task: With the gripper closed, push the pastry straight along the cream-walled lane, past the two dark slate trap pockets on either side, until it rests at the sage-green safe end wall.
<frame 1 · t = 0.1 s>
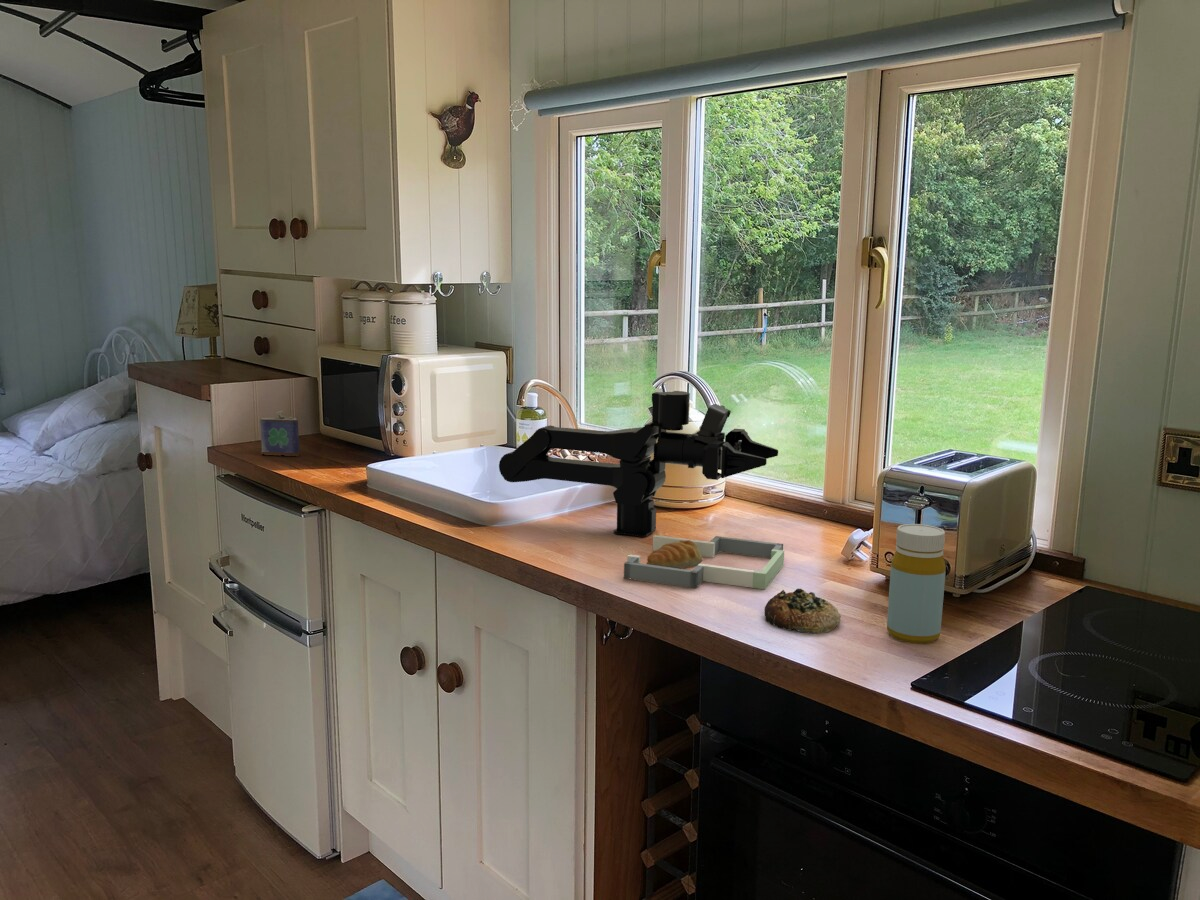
hand: (772, 457, 173), 17 cm above the worktop, fingers open, 9 cm apart
bottle: (912, 637, 135), on the worktop
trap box: (703, 567, 165), on the worktop
bread roll: (803, 623, 141), on the worktop
flask: (281, 456, 254), on the worktop
pastry: (675, 566, 167), on the worktop
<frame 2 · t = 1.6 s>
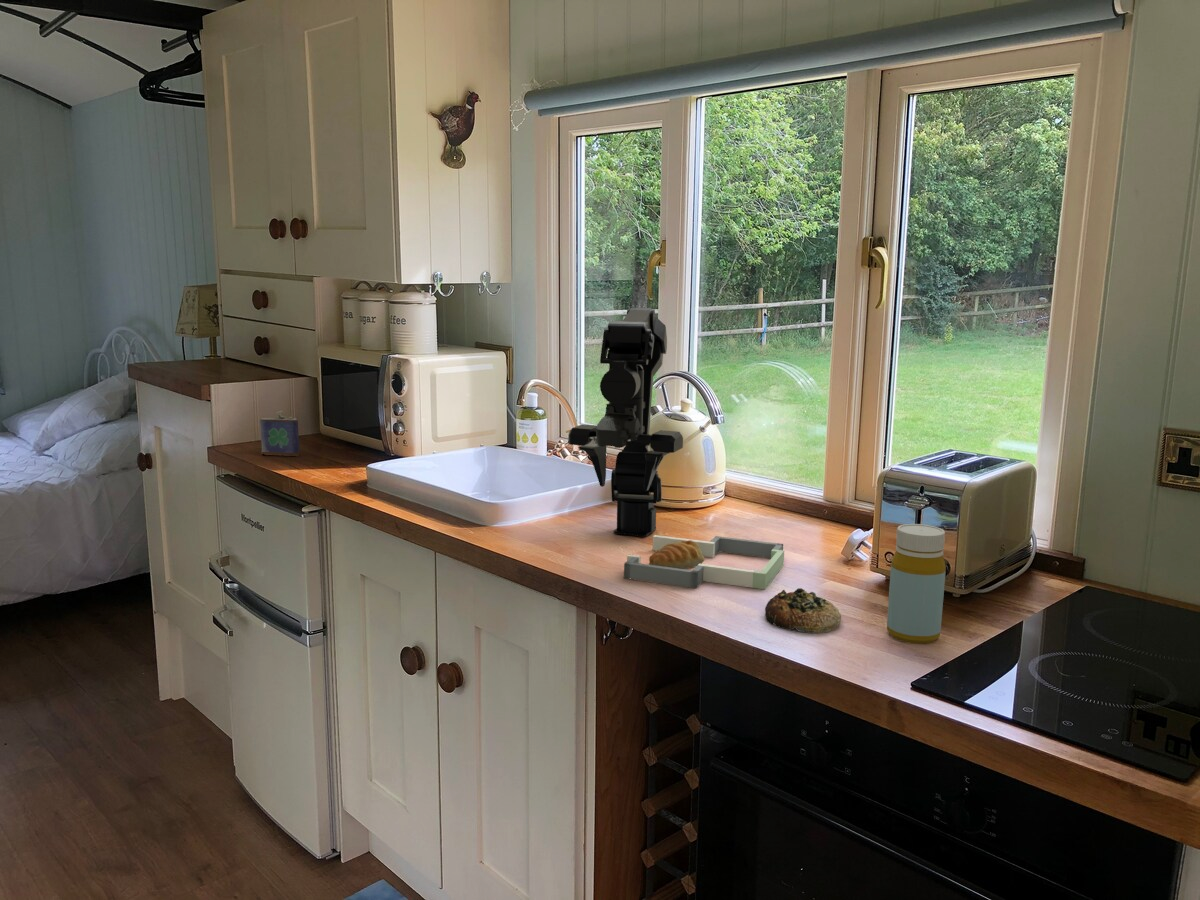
hand: (624, 488, 168), 12 cm above the worktop, fingers open, 8 cm apart
nothing on the worktop moved.
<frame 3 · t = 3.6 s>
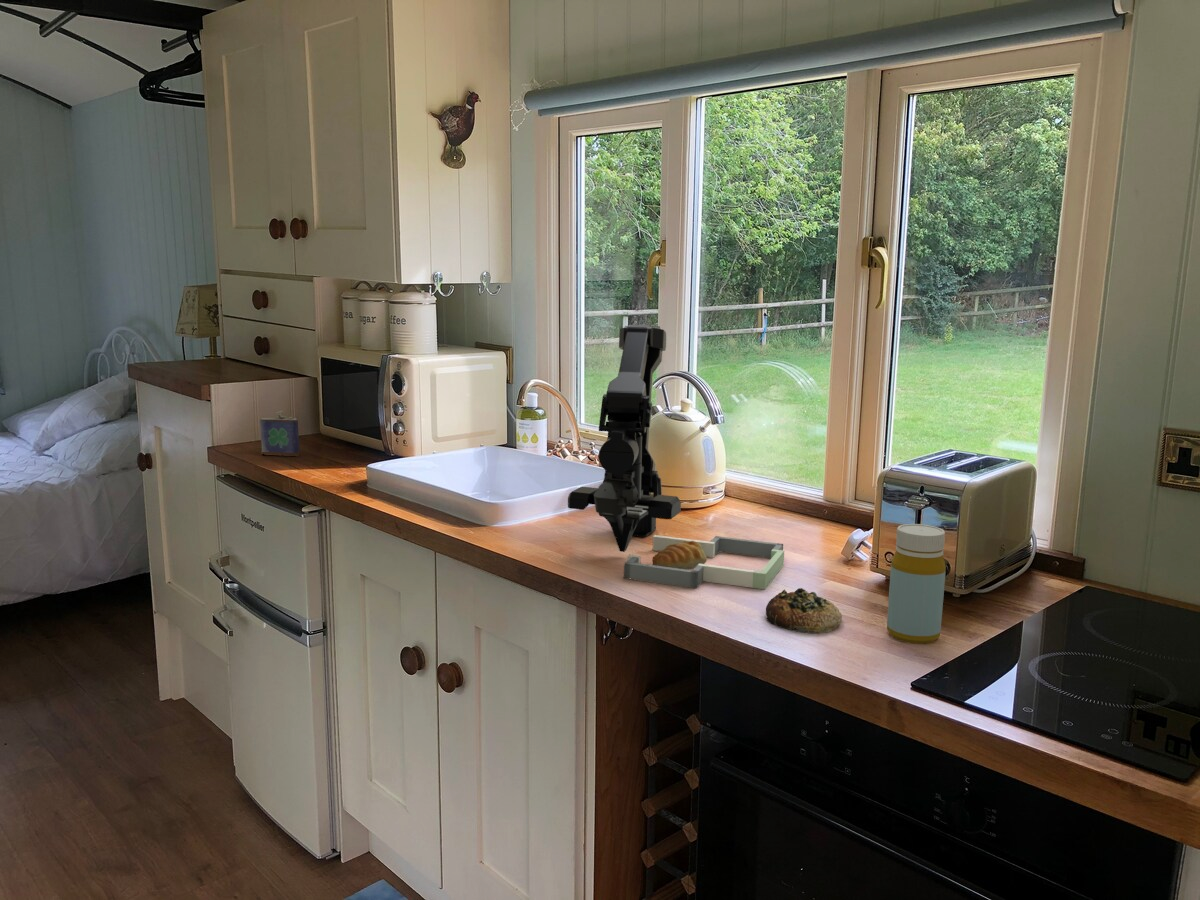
hand: (623, 551, 170), 1 cm above the worktop, fingers closed
nothing on the worktop moved.
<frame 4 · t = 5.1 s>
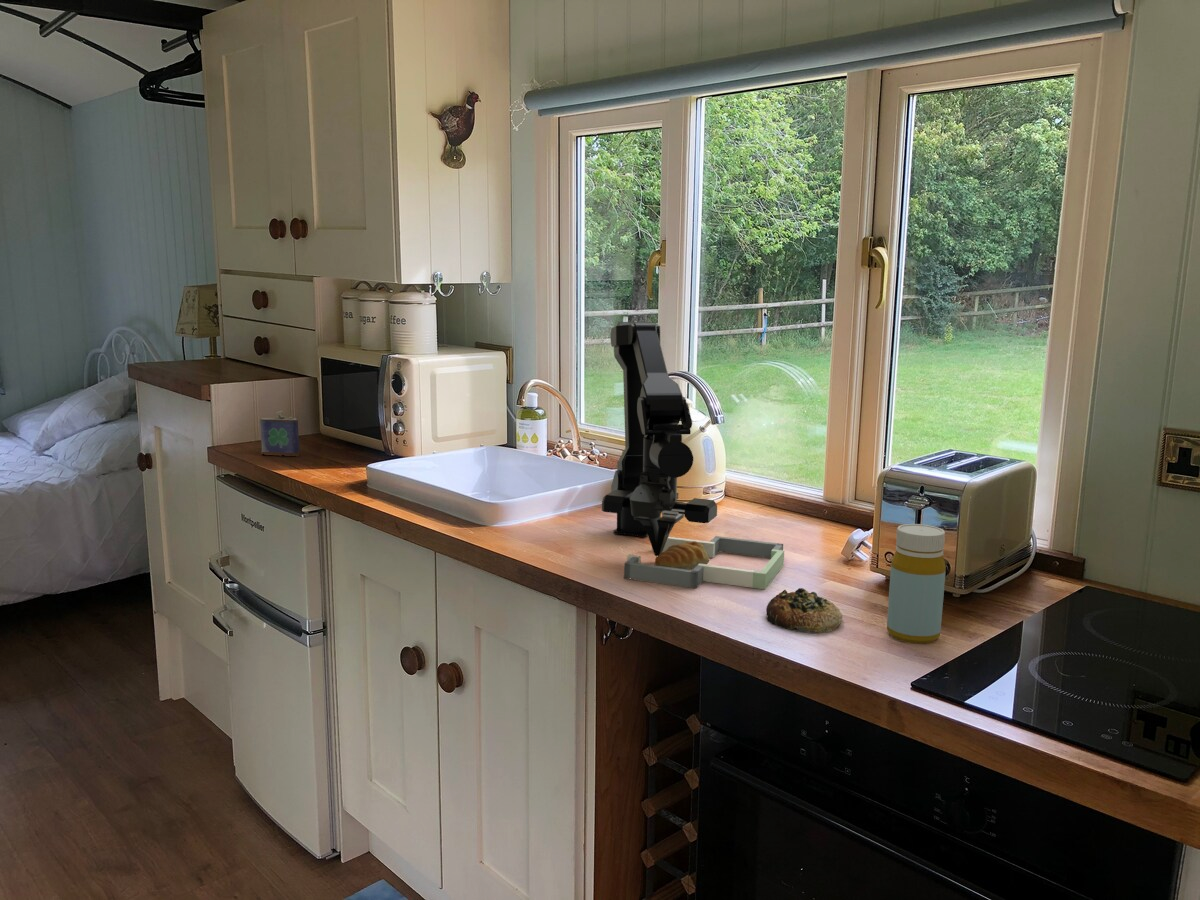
hand: (657, 555, 167), 1 cm above the worktop, fingers closed
pastry: (682, 567, 166), on the worktop, touching gripper
everything else where it was.
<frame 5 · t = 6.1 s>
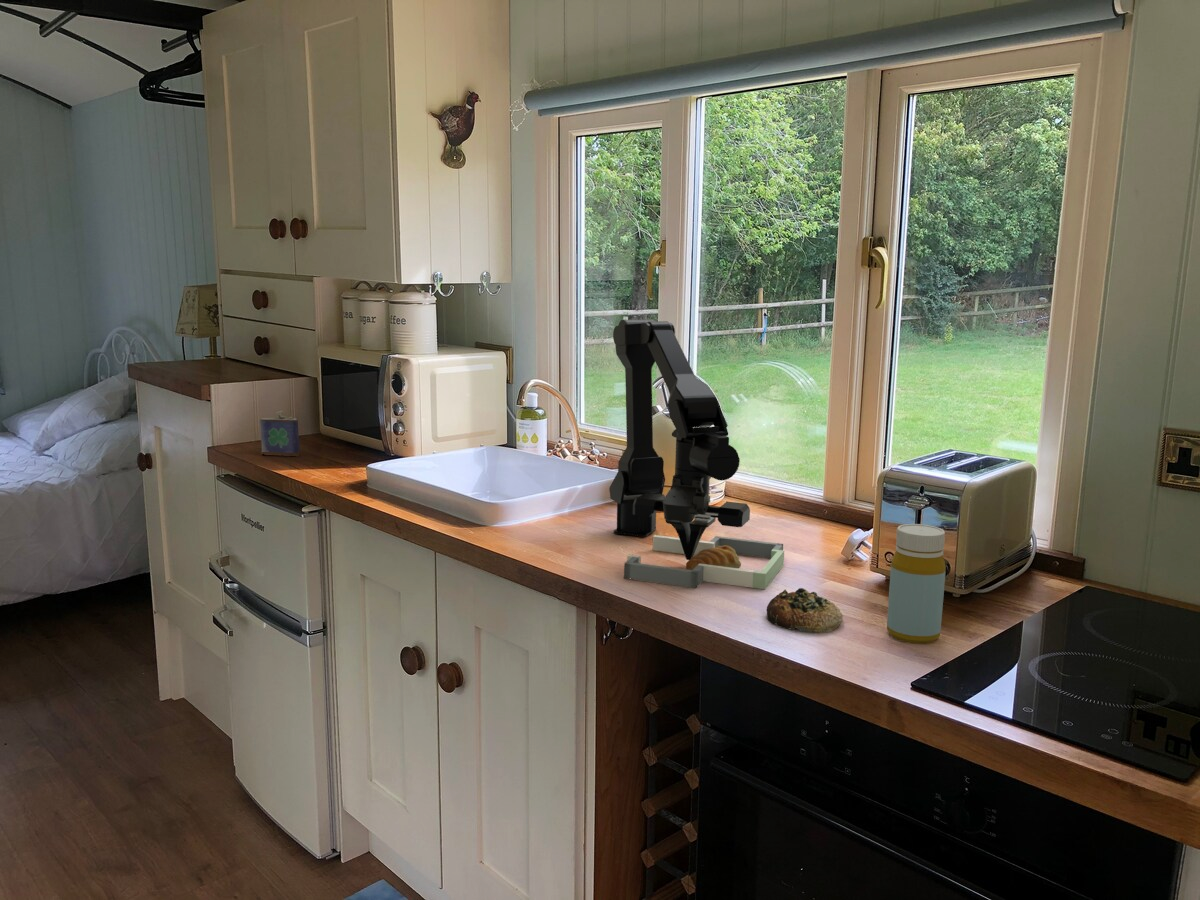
hand: (689, 559, 165), 1 cm above the worktop, fingers closed
pastry: (713, 572, 163), on the worktop, touching gripper
everything else where it was.
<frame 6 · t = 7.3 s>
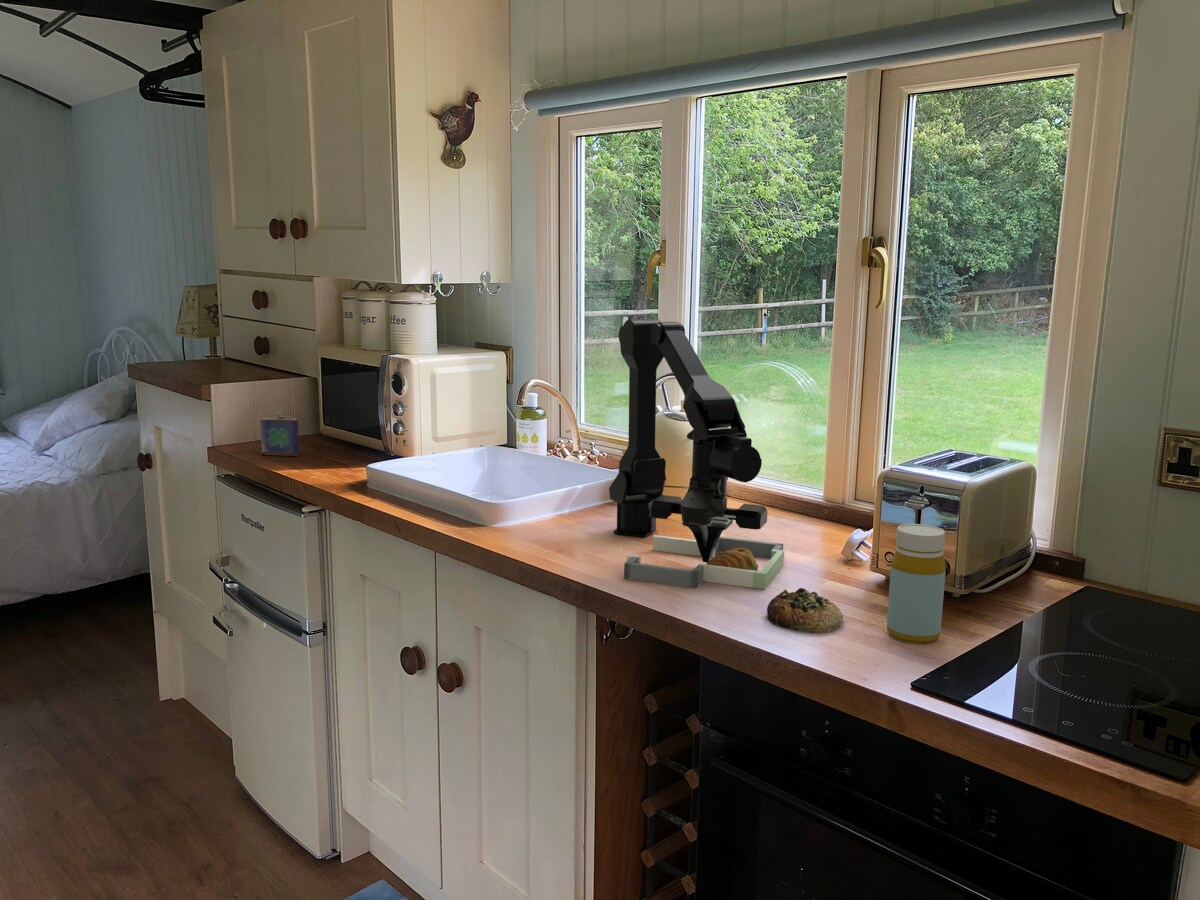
hand: (706, 561, 164), 1 cm above the worktop, fingers closed
pastry: (730, 575, 162), on the worktop
everything else where it was.
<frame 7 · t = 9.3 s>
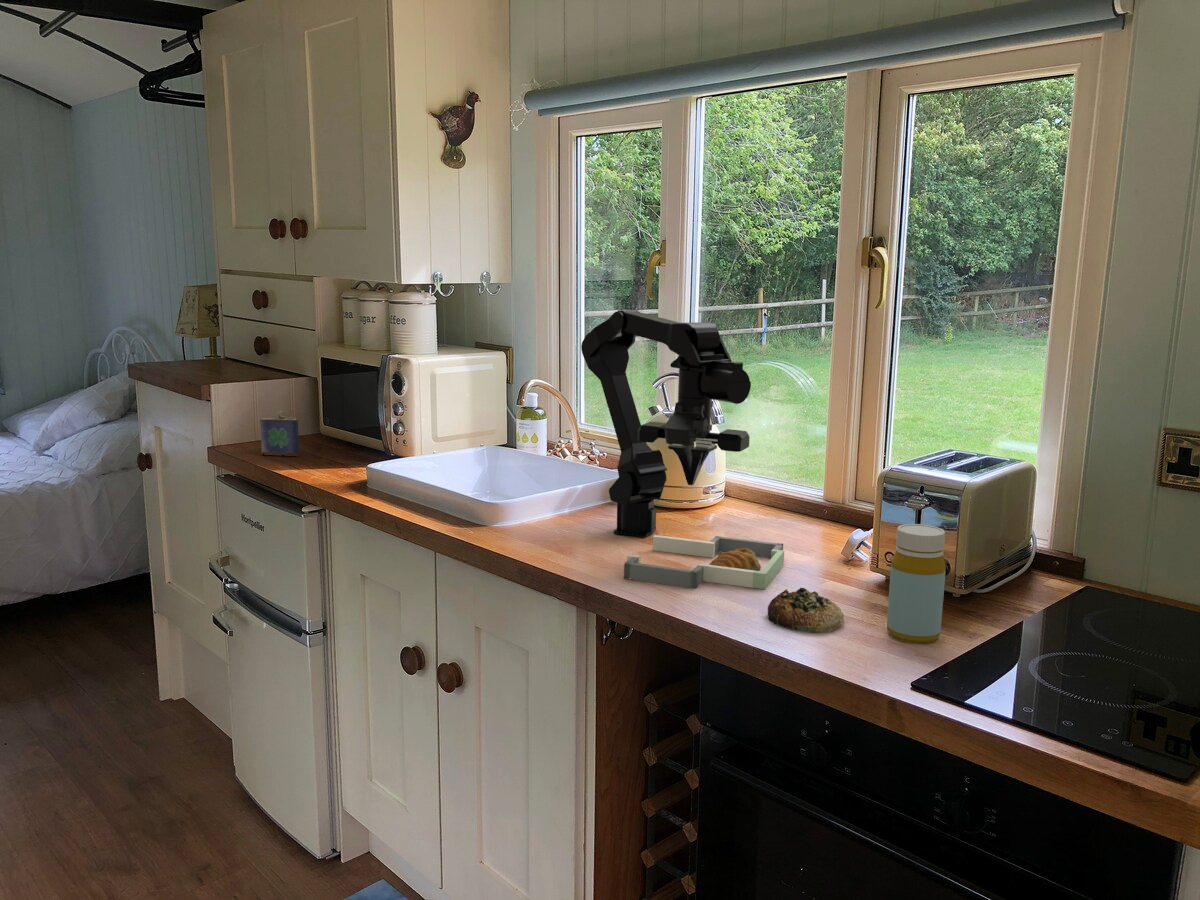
hand: (690, 484, 172), 12 cm above the worktop, fingers closed
nothing on the worktop moved.
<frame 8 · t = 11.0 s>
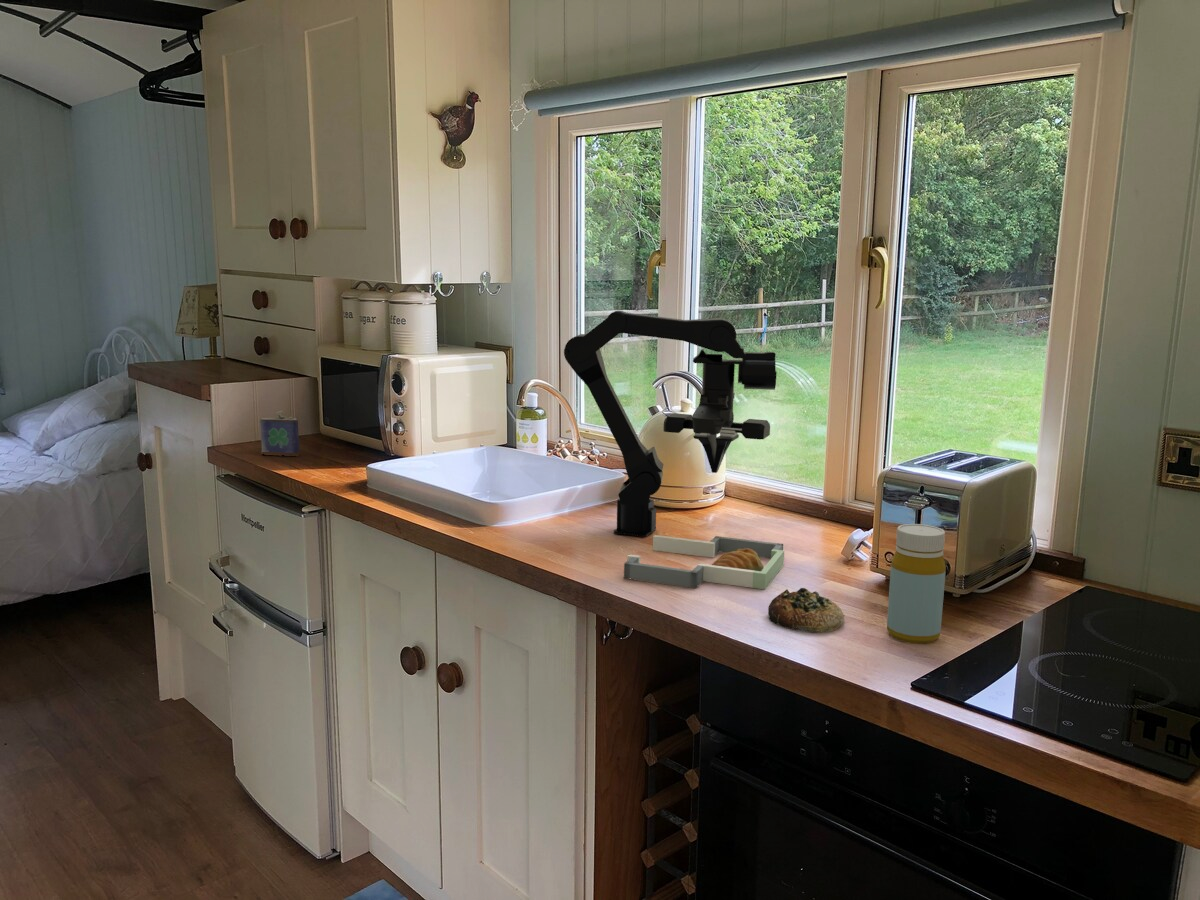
hand: (714, 472, 182), 12 cm above the worktop, fingers closed
nothing on the worktop moved.
at the end: pastry inside the target area (1.2 cm from its centre), on the worktop; pastry moved 10.9 cm from its start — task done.
